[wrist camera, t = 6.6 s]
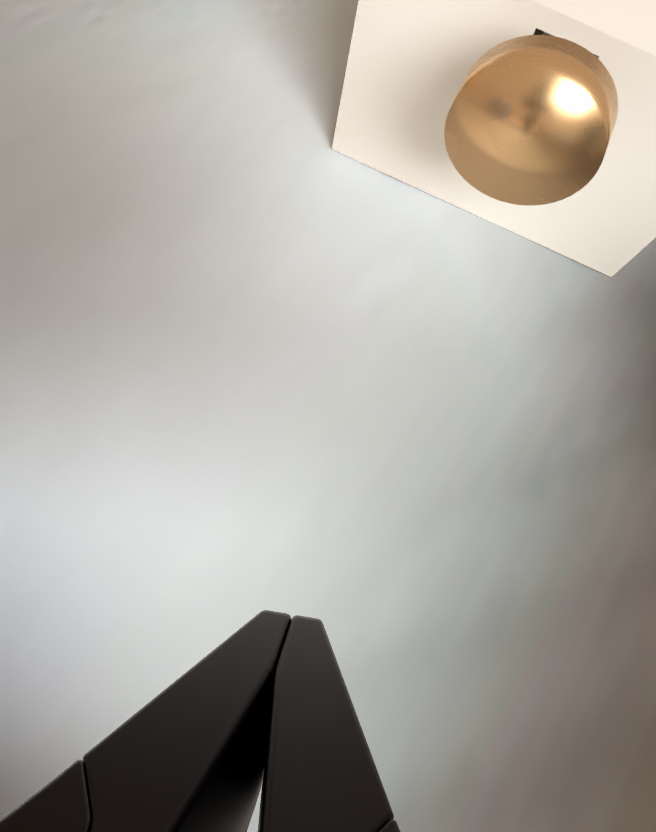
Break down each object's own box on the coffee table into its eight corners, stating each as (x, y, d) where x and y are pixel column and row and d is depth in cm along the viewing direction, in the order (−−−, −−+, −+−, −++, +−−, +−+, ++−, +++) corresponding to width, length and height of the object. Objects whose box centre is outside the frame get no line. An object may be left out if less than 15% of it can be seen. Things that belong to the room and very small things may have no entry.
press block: (611, 277, 27) (789, 116, 18) (331, 149, 27) (371, -73, 18) (650, 152, 29) (823, -42, 20) (395, 36, 29) (457, -206, 21)
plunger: (553, 226, 21) (643, 115, 16) (425, 167, 21) (477, 40, 16) (626, 28, 24) (717, -110, 20) (517, -22, 24) (581, -171, 20)
